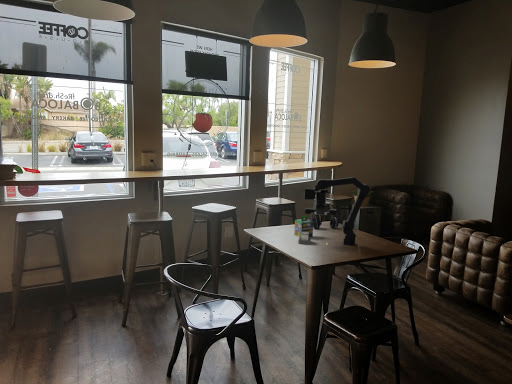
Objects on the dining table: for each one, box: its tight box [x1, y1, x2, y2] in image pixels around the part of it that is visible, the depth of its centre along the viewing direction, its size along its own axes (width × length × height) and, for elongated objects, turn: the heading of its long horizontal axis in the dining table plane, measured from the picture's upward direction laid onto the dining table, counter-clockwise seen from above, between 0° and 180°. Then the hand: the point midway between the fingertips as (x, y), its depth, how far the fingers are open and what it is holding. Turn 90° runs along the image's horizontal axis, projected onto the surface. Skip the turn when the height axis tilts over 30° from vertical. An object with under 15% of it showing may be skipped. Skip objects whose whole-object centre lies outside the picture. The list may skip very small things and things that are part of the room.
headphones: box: [310, 202, 340, 230], centre depth 282 cm, size 20×7×18 cm, turn 101°
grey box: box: [301, 232, 309, 240], centre depth 240 cm, size 4×5×6 cm
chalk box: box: [294, 215, 314, 238], centre depth 256 cm, size 9×9×15 cm
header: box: [297, 237, 312, 246], centre depth 240 cm, size 7×9×2 cm
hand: (320, 225), depth 238 cm, fingers closed
